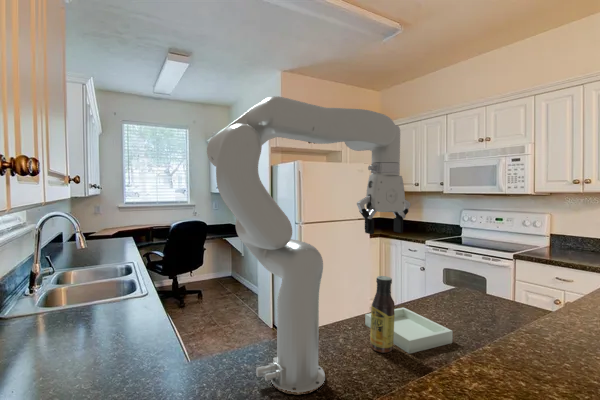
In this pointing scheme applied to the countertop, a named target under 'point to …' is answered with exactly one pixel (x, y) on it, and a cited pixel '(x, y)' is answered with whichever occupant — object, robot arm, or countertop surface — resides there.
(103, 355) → the countertop surface
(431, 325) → the tray
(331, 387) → the countertop surface
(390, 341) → the sauce bottle
